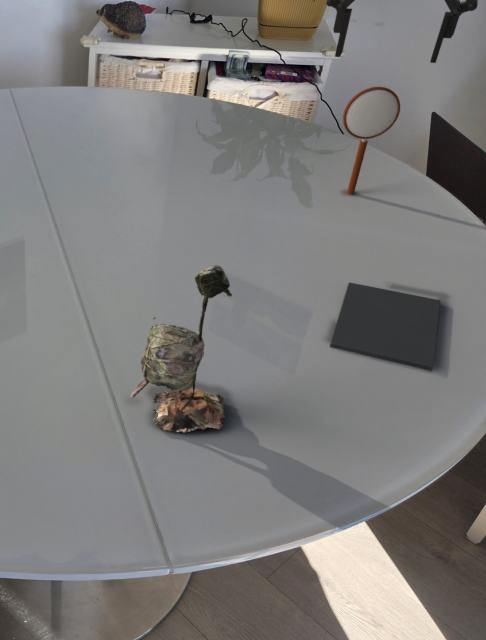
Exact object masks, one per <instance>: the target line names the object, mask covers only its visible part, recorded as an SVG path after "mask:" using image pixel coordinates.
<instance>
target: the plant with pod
mask: <svg viewBox="0 0 486 640" xmlns="http://www.w3.org/2000/svg"><path fill="white" fill-rule="evenodd" d="M194 282H195V284H196V287H197V290H198V292H199V294H200V295H201V296H202V297H203V300H202V303H201V304H202V305H201V306H202V307H201V312H200V313H201V316H200V317H199V325H198V333H197V332H195V331H193V330H191V329H189V328H187V327H184V326H180V325H176V324H175V325H174V324H173V325H172V324H166V323H154V324H152V325H151V327H150V330H149V332H148V335H147V339H146V341H147V345H146V347H145V349H144V351H143V352H142V357H141V360H140V366H141V370H142V374H143V375H142V376H143V377H144V379H143V380H141V382H140V383H139V384H138V385H137V387H136V389H135V390H134V391H133V392H132V393H131V395H130V398H131V399H133V398H135V397H136V396H137V395H138V394H139V393H140V392H141V391H143V390H144V389H145V387H147V386H148V385H149V384H151V385H154V386H157V387H166V388H167V389H169V390H170V391H169V390H166V391H164V390H163V391H162V392H160V393H155V396H154V398H153V401H152V402H153V403H159V404H160V402H163V403H161V404H160V405H161V406H160V407H159V409H158V410H157V411H156V412H157V413H158V417H157V420H156V421H155V422H153V425H154V426H155V427H156V428H158V429H160V430H161V431H169V432H170V431H171V432H177V433H179V432H182V433H188V432H191V431H196V430H197V429H199V430H202V431H203V430H205V429H207V428H210V429H211V428H212V429H216V430H220V429H221V428H222V427H223V426H224V424H223V423H225V419H224V418H225V417H227V416H228V414H227V413H226V412H225V411H224V409H225V405H224V404H225V401H226V399H225V398H224V397H223V396H222V395H220V393H218V394H217V393H210V394H209V393H205V392H204V391H203V390H202V389H197V388H196V380H197V372H198V368H199V366H200V363H201V361H202V360H203V357H204V355H205V352H204V350H205V341H204V338H203V330H204V329H203V327H204V322H205V313H206V311H207V307H208V303H209V299H213V298H215V297H217V296H218V295H220V294H222V293H224V294H226V295H227V296H228V298H229V297H232V296H233V294H232V292H231V290H230V286H231V283H230V280H229V278H228V276H227V274H226V273H225V270H224V269H223V268H222V266H221V265H218V264H216V265H213V266H211V267H206V268H204V269H202V270H201V271H200V272H198V273H197V274H196V275H195V276H194ZM156 319H157V317H155V316H154V317H153V318H152V320H156Z"/></svg>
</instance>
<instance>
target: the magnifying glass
mask: <svg viewBox="0 0 486 640" xmlns="http://www.w3.org/2000/svg"><path fill="white" fill-rule="evenodd" d="M400 112H401V101H400V99H399V96H398V95H397V94H396V92H395V91H394V90H392V89H390V88H388V87H385V86H371V87H368V88H365V89H363V90H361V91H359V92H358V93H357V94H355V95H354V96H352V97H351V98H350V100H349V101H348V102H347V104H346V106H345V108H344V110H343V113H342V114H343V115H342V122H343V127H344V129H345V131H346V132H347V133H348V134H349V135H350V136H352V137H354V138H356V139H360V141H359V144H358V147H357V150H356V151H357V152H356V155H355V159H354V163H353V167H352V171H351V174H350V179H349V183H348V187H347V190H346V194H347V195H350V196H353V195H354V194H355V191H356V187H357V183H358V180H359V176H360V173H361V168H362V165H363V161H364V157H365V153H366V149H367V146H368V142H369V141H368V140H369V139H374V138H377V137H380V136H382V135H383V134H385V133H386V132H388V131H389V130H390V129H391V128H392V127H393V126H394V124H395V123H396V122H397V120H398V119H399V116H400Z"/></svg>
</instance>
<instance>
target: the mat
mask: <svg viewBox="0 0 486 640" xmlns="http://www.w3.org/2000/svg"><path fill="white" fill-rule="evenodd" d="M440 307H441V300H440V299H436V298H430V297H426V296H420V295H417V294H411V293H405V292H400V291H396V290H391V289H386V288H381V287H375V286H371V285H364V284H360V283H355V282H348V284H347V287H346V291H345V294H344V298H343V301H342V304H341V308H340V309H339V310H340V311H339V314H338V317H337V321H336V323H335V328H334V330H333V334H332V337H331V340H330V343H329V347H330V348H333V349H337V350H342V351H346V352H350V353H354V354H358V355H362V356H367V357H371V358H375V359H380V360H384V361H388V362H391V363H396V364H400V365H404V366H409V367H414V368H417V369H422V370H426V371H429V372H432V371H433V369H434V361H435V355H436V354H435V352H436V345H437V344H436V343H437V335H438V325H439V319H440Z"/></svg>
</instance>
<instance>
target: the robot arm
mask: <svg viewBox="0 0 486 640" xmlns="http://www.w3.org/2000/svg"><path fill="white" fill-rule="evenodd" d="M355 1H356V0H326V6H327V7H331V8H333V9H335V11H336V14H335V20H334V25H333V29H332V31H333V33H334V34H339V36H338V39H337V45H336V49H335V54H334V57H335V58H341V56H342V55H343V52H344V48H345V43H346V38H347V34H348V29H349V25H350V21H351V16H352V12H353V8H349V7H350V6H351V4H353V3H354V2H355ZM444 2H445V4H446V6H447V7H448V10H449V11H445V12H444V15H443V19H442V22H441V25H440V27H439V31H438V34H437V38H436V41H435V44H434V48H433V51H432V53H431V57H430V61H429V63H430V64H436V63H437V60H438V57H439V53H440V51H441V48H442V45H443V41H444V39H452V38H453V36H454V34H455V31H456V28H457V25H458V22H459V19H460V17H461V16H462V15H463V14H464V13H468V12H473V11H476V9H477V8H478V4H479V0H465V1H461V0H444Z"/></svg>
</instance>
